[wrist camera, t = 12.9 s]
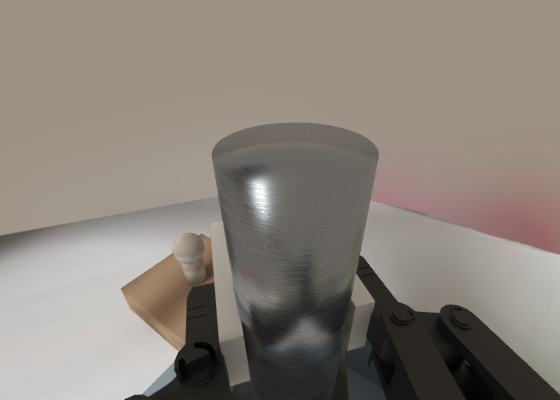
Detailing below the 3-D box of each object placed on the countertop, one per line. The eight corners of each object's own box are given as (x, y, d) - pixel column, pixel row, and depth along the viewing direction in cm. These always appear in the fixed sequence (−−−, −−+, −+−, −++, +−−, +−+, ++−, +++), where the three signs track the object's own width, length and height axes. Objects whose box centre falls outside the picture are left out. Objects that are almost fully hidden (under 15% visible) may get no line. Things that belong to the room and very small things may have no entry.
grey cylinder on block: (238, 480, 14) (136, 195, 5) (257, 375, 19) (224, 115, 9) (336, 498, 14) (446, 213, 4) (332, 385, 18) (382, 118, 9)
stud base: (130, 308, 27) (100, 247, 23) (205, 252, 34) (193, 197, 30) (195, 366, 22) (173, 301, 18) (268, 287, 29) (264, 226, 25)
